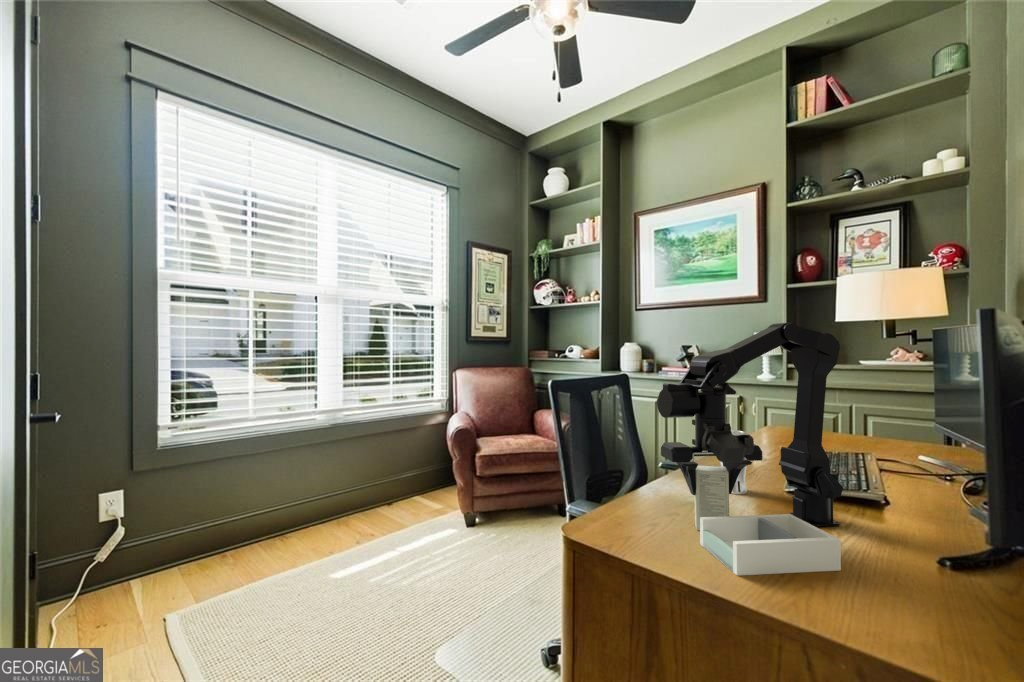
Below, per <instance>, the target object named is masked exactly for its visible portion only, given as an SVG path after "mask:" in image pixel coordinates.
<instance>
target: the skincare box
mask: <svg viewBox="0 0 1024 682" xmlns="http://www.w3.org/2000/svg"><path fill="white" fill-rule="evenodd" d="M695 472H696V495H693V496H694V524H695V525H694V526H695V529H696V530H697V531H700V517H722V516H730V494H729V473H728V471H727V469H726V467H722V466H721V465H720V466H719V465H705V464H702V465H701V464H698V466H697V468H696V470H695Z"/></svg>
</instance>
